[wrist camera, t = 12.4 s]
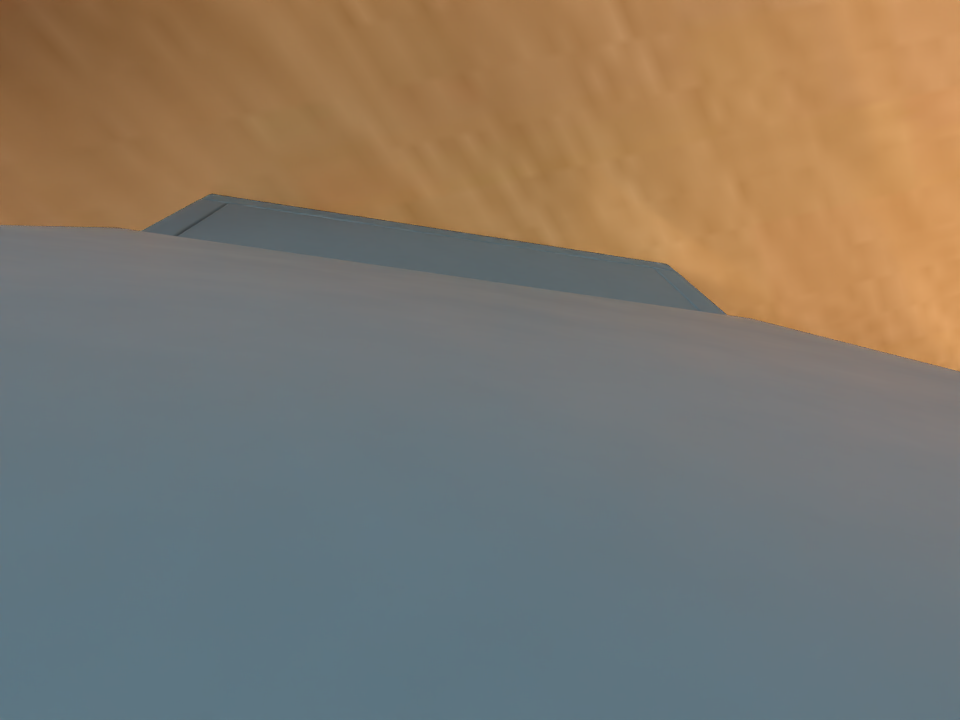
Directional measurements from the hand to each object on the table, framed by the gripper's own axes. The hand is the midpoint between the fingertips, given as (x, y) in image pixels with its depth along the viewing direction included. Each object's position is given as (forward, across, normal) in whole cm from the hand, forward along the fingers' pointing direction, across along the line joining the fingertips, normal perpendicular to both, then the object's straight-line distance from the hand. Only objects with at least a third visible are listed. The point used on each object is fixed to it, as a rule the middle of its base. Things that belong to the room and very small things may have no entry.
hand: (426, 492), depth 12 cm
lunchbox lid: (-7, 0, -6) cm, 9 cm away
